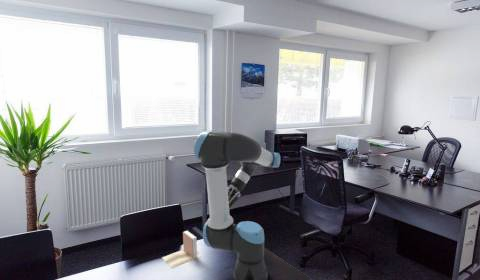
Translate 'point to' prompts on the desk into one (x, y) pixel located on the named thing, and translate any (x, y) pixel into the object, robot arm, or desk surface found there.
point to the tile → (190, 244)
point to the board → (178, 258)
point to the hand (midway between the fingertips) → (215, 217)
